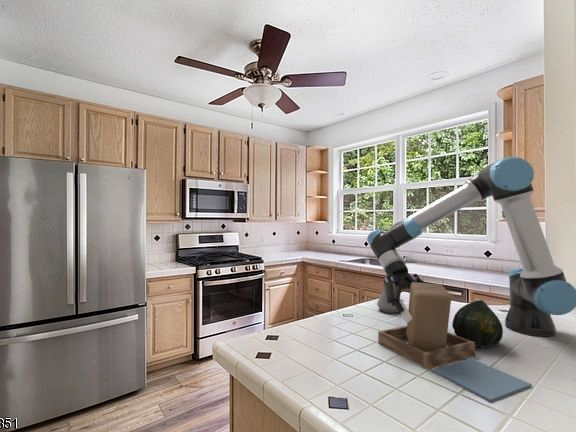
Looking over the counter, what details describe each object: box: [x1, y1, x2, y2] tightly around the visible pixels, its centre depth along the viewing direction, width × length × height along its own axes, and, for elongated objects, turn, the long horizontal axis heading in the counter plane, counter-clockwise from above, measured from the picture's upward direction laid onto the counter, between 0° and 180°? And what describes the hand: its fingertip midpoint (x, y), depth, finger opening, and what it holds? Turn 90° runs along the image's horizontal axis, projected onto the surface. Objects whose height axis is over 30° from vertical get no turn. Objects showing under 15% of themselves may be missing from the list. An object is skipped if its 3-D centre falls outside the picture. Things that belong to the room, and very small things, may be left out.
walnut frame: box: [377, 325, 476, 370], centre depth 101 cm, size 20×20×4 cm
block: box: [406, 282, 452, 352], centre depth 98 cm, size 10×10×20 cm
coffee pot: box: [376, 281, 407, 314], centre depth 139 cm, size 21×12×15 cm, turn 24°
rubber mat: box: [432, 357, 533, 403], centre depth 81 cm, size 16×16×1 cm
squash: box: [452, 300, 504, 348], centre depth 105 cm, size 14×15×15 cm
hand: (426, 319), depth 99 cm, fingers closed on block, 13 cm apart
